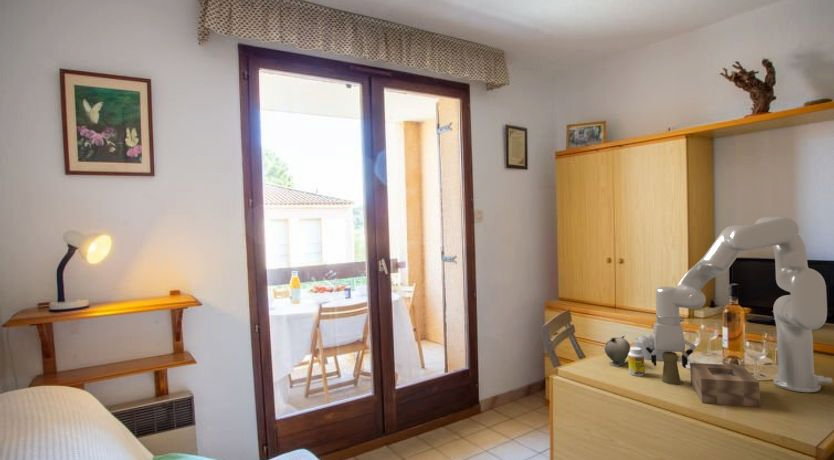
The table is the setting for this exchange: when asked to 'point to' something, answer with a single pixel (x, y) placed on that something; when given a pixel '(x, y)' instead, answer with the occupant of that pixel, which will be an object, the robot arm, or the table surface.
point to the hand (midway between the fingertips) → (669, 365)
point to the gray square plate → (721, 374)
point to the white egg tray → (639, 343)
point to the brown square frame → (725, 384)
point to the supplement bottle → (636, 361)
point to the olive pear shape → (670, 368)
